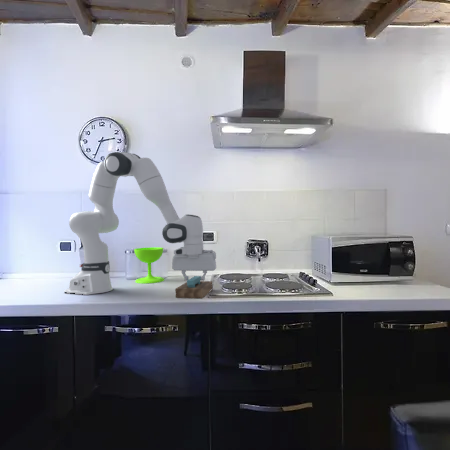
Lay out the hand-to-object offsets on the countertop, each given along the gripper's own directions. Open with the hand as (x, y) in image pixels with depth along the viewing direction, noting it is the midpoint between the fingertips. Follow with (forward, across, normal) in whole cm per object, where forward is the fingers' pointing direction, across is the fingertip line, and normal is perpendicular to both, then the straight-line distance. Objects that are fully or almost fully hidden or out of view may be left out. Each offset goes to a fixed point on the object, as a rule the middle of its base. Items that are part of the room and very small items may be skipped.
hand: (194, 280), depth 162 cm
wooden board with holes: (+6, 0, 0) cm, 6 cm away
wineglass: (+6, +35, -29) cm, 46 cm away
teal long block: (+6, 0, 0) cm, 6 cm away
